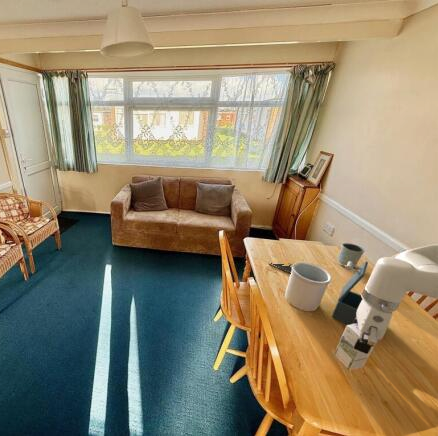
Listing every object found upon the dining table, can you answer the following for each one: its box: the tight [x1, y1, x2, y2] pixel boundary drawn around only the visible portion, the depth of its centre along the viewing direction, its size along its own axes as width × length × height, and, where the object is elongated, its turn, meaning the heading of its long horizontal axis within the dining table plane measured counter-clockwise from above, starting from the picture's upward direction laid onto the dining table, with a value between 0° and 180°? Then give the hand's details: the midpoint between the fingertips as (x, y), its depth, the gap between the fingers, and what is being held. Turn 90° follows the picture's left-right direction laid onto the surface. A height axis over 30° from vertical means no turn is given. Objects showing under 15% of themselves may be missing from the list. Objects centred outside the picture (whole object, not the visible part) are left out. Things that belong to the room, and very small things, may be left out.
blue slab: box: [337, 261, 369, 302], centre depth 99 cm, size 16×13×6 cm
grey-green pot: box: [337, 242, 365, 267], centre depth 135 cm, size 10×10×12 cm
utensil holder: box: [284, 261, 332, 312], centre depth 107 cm, size 15×15×18 cm
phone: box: [271, 263, 293, 274], centre depth 135 cm, size 8×1×15 cm
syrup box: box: [333, 323, 379, 371], centre depth 74 cm, size 6×6×14 cm
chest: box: [331, 290, 362, 326], centre depth 98 cm, size 16×13×9 cm
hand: (358, 340), depth 73 cm, fingers closed on syrup box, 8 cm apart
